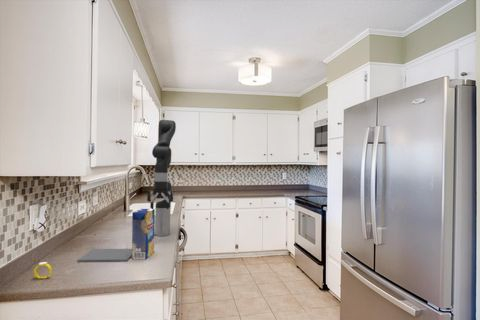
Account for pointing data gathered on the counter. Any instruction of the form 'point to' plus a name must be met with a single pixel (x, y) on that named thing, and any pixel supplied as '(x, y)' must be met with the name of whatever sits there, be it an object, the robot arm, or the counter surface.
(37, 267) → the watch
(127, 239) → the counter surface
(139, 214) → the beverage box
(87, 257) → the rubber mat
